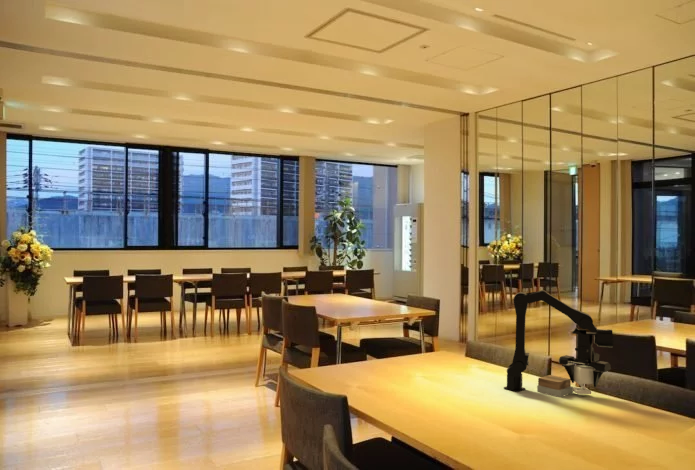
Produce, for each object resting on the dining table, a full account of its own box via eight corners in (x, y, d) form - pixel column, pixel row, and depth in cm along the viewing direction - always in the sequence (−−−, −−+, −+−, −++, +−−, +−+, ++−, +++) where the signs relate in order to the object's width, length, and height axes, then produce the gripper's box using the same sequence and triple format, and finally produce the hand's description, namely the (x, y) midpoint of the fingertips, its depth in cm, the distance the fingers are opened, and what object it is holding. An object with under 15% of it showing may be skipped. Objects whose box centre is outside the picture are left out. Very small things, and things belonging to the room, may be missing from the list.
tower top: (558, 389, 224) (559, 382, 224) (538, 385, 231) (538, 378, 231) (570, 386, 230) (570, 378, 230) (549, 382, 237) (550, 374, 237)
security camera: (595, 394, 223) (596, 368, 223) (577, 394, 223) (578, 368, 223) (588, 390, 229) (589, 365, 229) (571, 389, 229) (571, 365, 229)
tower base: (560, 398, 223) (560, 390, 223) (537, 393, 231) (537, 385, 231) (573, 394, 230) (573, 386, 230) (550, 389, 237) (550, 381, 237)
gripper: (617, 346, 224) (617, 386, 224) (572, 340, 238) (571, 377, 238) (604, 350, 217) (603, 391, 216) (558, 342, 231) (558, 381, 231)
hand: (584, 385), depth 225 cm, fingers closed on security camera, 9 cm apart
